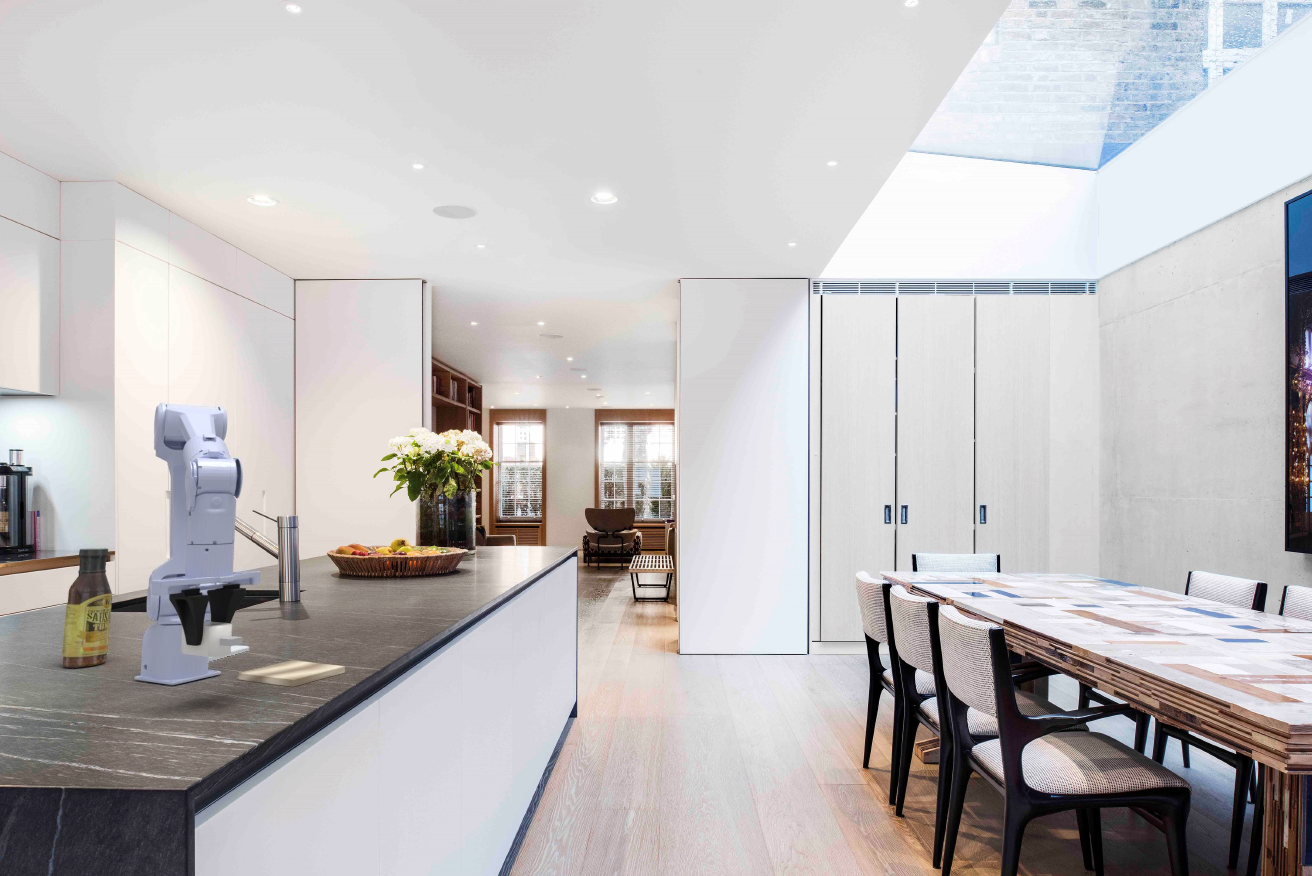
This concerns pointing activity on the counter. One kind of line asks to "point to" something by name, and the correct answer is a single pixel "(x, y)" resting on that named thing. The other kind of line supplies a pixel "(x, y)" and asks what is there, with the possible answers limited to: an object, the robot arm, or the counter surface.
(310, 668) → the birch board
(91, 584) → the sauce bottle
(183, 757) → the counter surface
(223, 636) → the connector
